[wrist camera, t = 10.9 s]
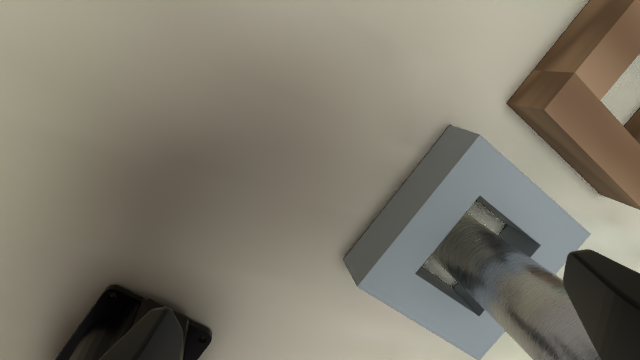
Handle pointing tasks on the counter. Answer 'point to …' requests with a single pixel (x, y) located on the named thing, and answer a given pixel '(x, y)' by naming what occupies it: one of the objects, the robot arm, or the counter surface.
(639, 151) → the brown square frame
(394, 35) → the counter surface
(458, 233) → the axle
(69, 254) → the counter surface
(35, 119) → the counter surface
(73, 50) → the counter surface
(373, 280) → the socket block
